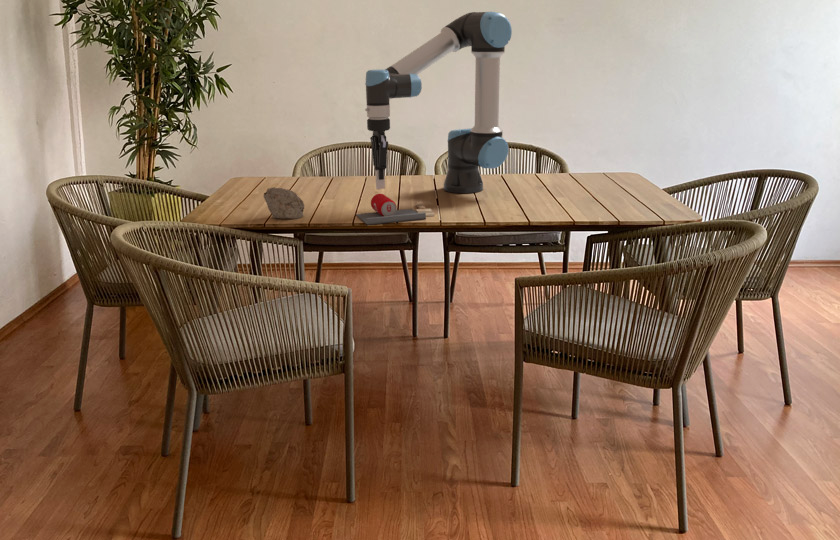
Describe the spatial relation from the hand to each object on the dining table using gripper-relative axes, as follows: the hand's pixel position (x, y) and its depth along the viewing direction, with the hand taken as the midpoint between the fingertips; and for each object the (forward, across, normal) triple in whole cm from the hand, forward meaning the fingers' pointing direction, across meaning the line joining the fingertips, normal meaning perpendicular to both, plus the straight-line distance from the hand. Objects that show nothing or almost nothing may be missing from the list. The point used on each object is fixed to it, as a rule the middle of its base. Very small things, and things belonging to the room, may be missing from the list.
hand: (380, 188), depth 270 cm
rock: (+9, -7, -32) cm, 34 cm away
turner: (+8, +3, +14) cm, 17 cm away
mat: (+9, +7, +1) cm, 11 cm away
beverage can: (+5, -2, 0) cm, 5 cm away
